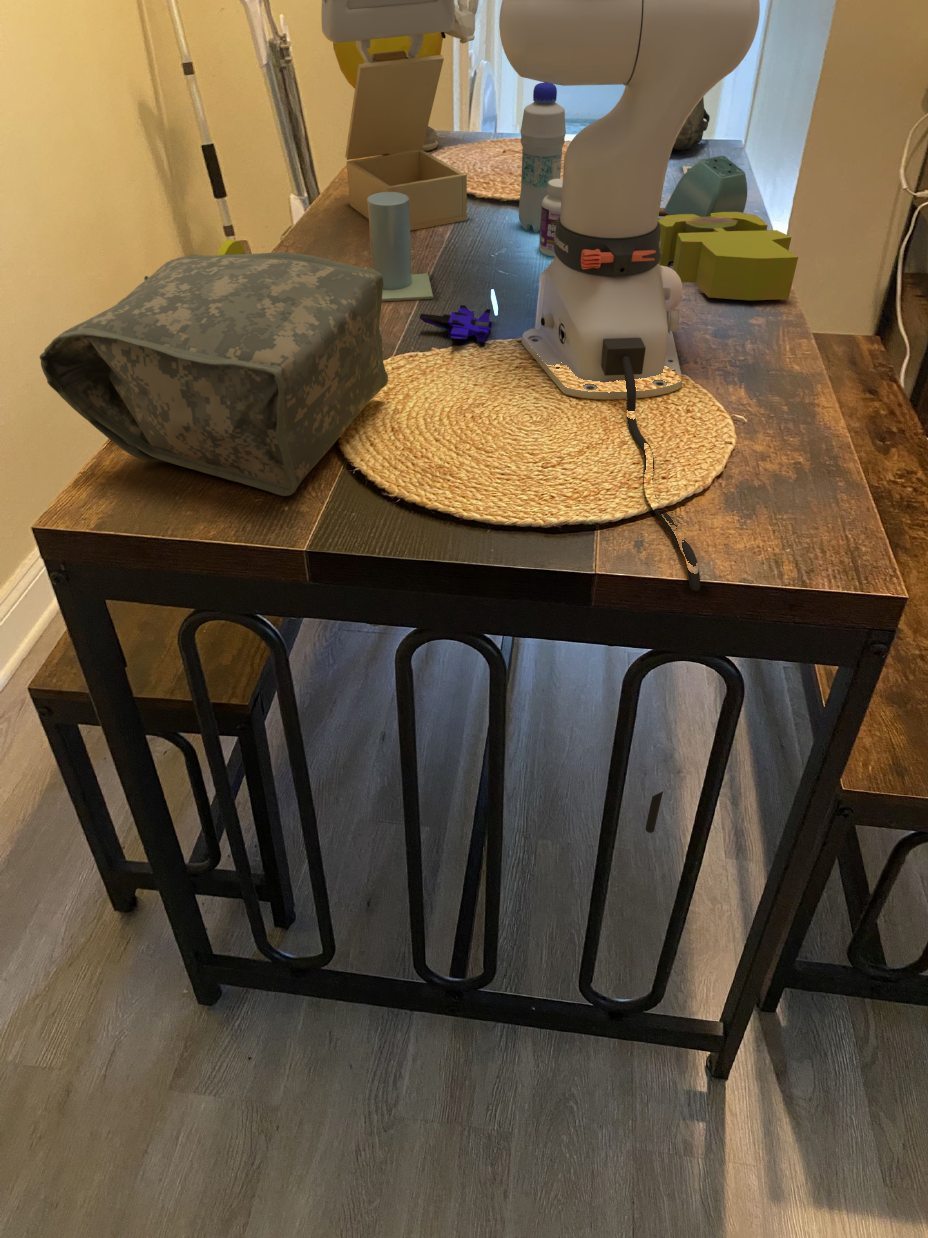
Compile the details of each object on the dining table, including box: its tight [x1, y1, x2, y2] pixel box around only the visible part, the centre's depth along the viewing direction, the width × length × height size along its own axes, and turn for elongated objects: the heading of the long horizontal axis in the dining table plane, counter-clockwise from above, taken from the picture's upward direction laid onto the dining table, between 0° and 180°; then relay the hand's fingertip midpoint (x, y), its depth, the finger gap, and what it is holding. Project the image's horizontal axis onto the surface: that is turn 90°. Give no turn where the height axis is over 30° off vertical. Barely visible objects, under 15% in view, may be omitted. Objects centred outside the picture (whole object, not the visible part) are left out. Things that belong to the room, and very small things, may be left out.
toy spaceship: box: [419, 304, 493, 348], centre depth 114 cm, size 10×9×2 cm
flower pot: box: [664, 155, 748, 217], centre depth 138 cm, size 9×9×9 cm
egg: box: [661, 266, 683, 311], centre depth 116 cm, size 6×6×8 cm
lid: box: [344, 50, 445, 161], centre depth 142 cm, size 16×14×5 cm
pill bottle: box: [538, 178, 563, 258], centre depth 133 cm, size 5×5×10 cm
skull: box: [672, 96, 711, 151], centre depth 175 cm, size 20×18×20 cm
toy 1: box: [332, 0, 479, 155], centre depth 171 cm, size 27×24×30 cm
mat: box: [382, 273, 434, 302], centre depth 125 cm, size 8×10×1 cm
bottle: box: [518, 82, 567, 233], centre depth 137 cm, size 7×7×20 cm
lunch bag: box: [39, 251, 389, 497], centre depth 93 cm, size 22×16×27 cm
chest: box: [346, 150, 468, 232], centre depth 146 cm, size 16×14×7 cm
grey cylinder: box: [367, 192, 413, 290], centre depth 123 cm, size 7×5×11 cm
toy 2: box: [658, 212, 799, 301], centre depth 126 cm, size 16×6×20 cm
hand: (391, 70), depth 138 cm, fingers closed on lid, 5 cm apart
